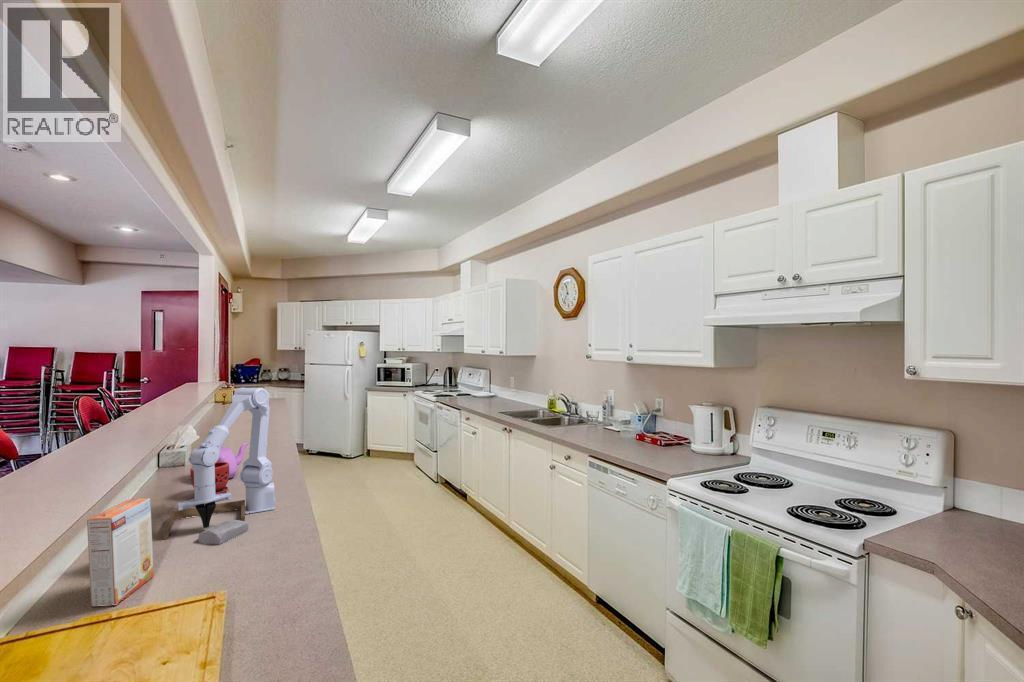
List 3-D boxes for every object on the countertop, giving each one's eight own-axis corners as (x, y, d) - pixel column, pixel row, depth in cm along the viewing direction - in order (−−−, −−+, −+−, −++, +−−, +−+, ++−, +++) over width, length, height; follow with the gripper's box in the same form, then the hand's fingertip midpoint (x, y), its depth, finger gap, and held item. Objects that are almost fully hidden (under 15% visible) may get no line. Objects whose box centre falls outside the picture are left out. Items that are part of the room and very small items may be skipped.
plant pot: (236, 489, 200) (235, 460, 200) (218, 500, 187) (217, 469, 187) (203, 490, 200) (203, 461, 200) (183, 501, 187) (182, 470, 187)
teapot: (200, 489, 202) (199, 452, 201) (189, 478, 217) (188, 445, 217) (260, 477, 218) (259, 443, 217) (245, 468, 233) (244, 436, 232)
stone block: (195, 549, 148) (222, 545, 146) (192, 533, 148) (219, 529, 146) (226, 535, 160) (252, 531, 158) (224, 520, 160) (249, 516, 158)
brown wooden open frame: (245, 507, 178) (244, 499, 178) (244, 525, 161) (244, 516, 161) (171, 519, 168) (171, 511, 168) (163, 539, 151) (163, 530, 151)
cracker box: (130, 578, 127) (127, 498, 127) (154, 577, 127) (152, 497, 127) (88, 608, 113) (85, 518, 113) (115, 607, 113) (113, 517, 113)
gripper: (227, 477, 165) (228, 517, 165) (175, 486, 156) (177, 529, 156) (232, 481, 160) (233, 523, 160) (178, 491, 150) (180, 535, 150)
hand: (206, 526), depth 157 cm, fingers closed
